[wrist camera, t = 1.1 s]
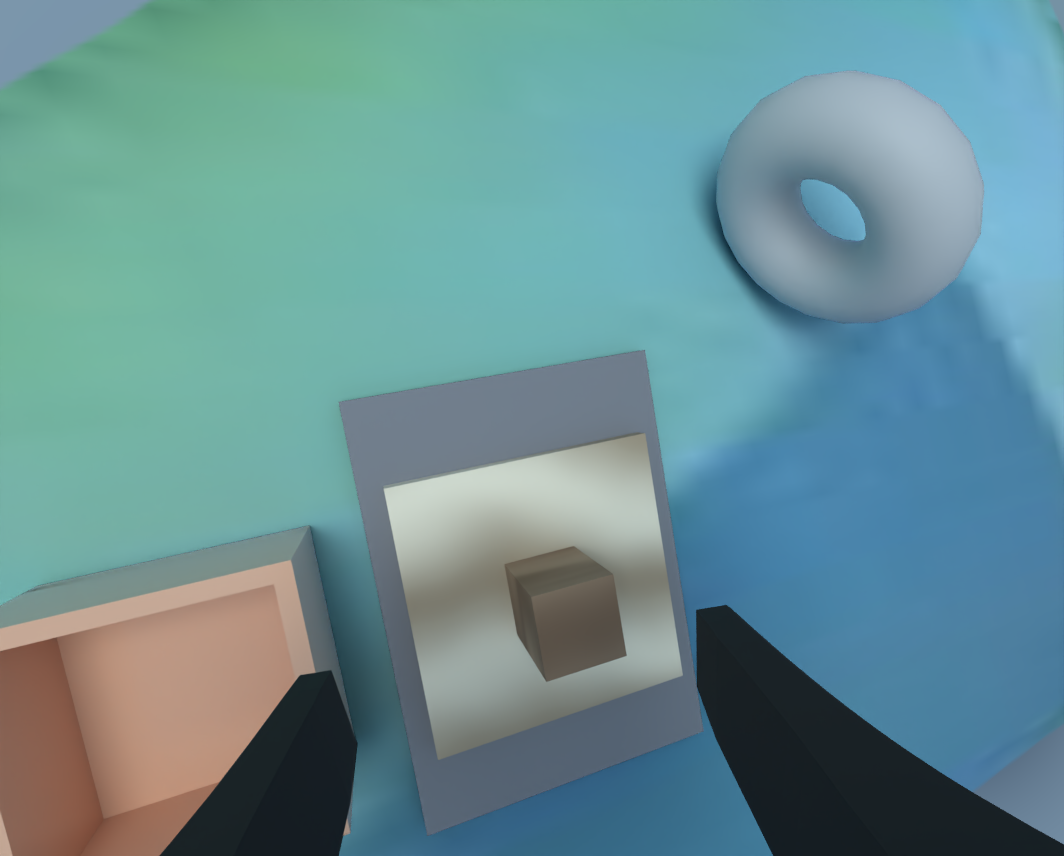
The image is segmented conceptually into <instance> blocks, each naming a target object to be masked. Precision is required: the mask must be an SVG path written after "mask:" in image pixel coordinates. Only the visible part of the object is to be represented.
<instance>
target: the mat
mask: <svg viewBox="0 0 1064 856" xmlns="http://www.w3.org/2000/svg"><path fill="white" fill-rule="evenodd" d="M339 406H340V411H341V416H342V421H343V426H344V430H345V435H346V440H347V445H348V450H349V455H350V460H351V465H352V470H353V474H354V479H355V484H356V489H357V494H358V499H359V504H360V509H361V513H362V518H363V523H364V528H365V533H366V538H367V543H368V548H369V553H370V557H371V562H372V567H373V572H374V577H375V582H376V587H377V592H378V596H379V601H380V606H381V611H382V616H383V621H384V626H385V631H386V636H387V640H388V645H389V650H390V655H391V660H392V665H393V670H394V675H395V679H396V684H397V689H398V694H399V699H400V704H401V709H402V714H403V719H404V723H405V728H406V733H407V738H408V743H409V748H410V753H411V758H412V762H413V767H414V772H415V777H416V782H417V787H418V792H419V797H420V801H421V806H422V811H423V816H424V821H425V826H426V831H427V836H429V835H432V834H434V833H437V832H440V831H442V830H445V829H447V828H450V827H453V826H455V825H458V824H461V823H463V822H466V821H469V820H471V819H474V818H476V817H479V816H482V815H484V814H487V813H490V812H492V811H495V810H498V809H500V808H503V807H505V806H508V805H511V804H513V803H516V802H519V801H521V800H524V799H526V798H529V797H532V796H534V795H537V794H540V793H542V792H545V791H548V790H550V789H553V788H555V787H558V786H561V785H563V784H566V783H569V782H571V781H574V780H577V779H579V778H582V777H584V776H587V775H590V774H592V773H595V772H598V771H600V770H603V769H606V768H608V767H611V766H613V765H616V764H619V763H621V762H624V761H627V760H629V759H632V758H634V757H637V756H640V755H642V754H645V753H648V752H650V751H653V750H656V749H658V748H661V747H663V746H666V745H669V744H671V743H674V742H677V741H679V740H682V739H685V738H687V737H690V736H692V735H695V734H698V733H700V732H703V725H702V718H701V712H700V705H699V699H698V692H697V686H696V679H695V673H694V666H693V660H692V653H691V647H690V640H689V634H688V627H687V621H686V614H685V608H684V601H683V595H682V588H681V582H680V575H679V569H678V562H677V556H676V549H675V543H674V536H673V530H672V523H671V517H670V510H669V504H668V497H667V491H666V484H665V478H664V471H663V465H662V458H661V452H660V445H659V439H658V432H657V426H656V419H655V413H654V406H653V400H652V393H651V387H650V380H649V374H648V367H647V361H646V354H645V350H642V351H636V352H630V353H624V354H618V355H612V356H607V357H601V358H595V359H589V360H583V361H577V362H571V363H565V364H560V365H554V366H548V367H542V368H536V369H530V370H524V371H518V372H513V373H507V374H501V375H495V376H489V377H483V378H477V379H471V380H466V381H460V382H454V383H448V384H442V385H436V386H430V387H424V388H419V389H413V390H407V391H401V392H395V393H389V394H383V395H377V396H372V397H366V398H360V399H354V400H348V401H342V402H339ZM635 432H639V433H645V435H646V442H647V448H648V455H649V461H650V467H651V474H652V480H653V487H654V493H655V500H656V506H657V512H658V519H659V525H660V532H661V538H662V544H663V551H664V557H665V564H666V570H667V576H668V583H669V589H670V596H671V602H672V609H673V615H674V621H675V628H676V634H677V641H678V647H679V653H680V660H681V666H682V673H683V676H680V677H677V678H674V679H671V680H668V681H665V682H663V683H660V684H657V685H654V686H651V687H648V688H645V689H642V690H639V691H637V692H634V693H631V694H628V695H625V696H622V697H619V698H616V699H613V700H611V701H608V702H605V703H602V704H599V705H596V706H593V707H590V708H587V709H585V710H582V711H579V712H576V713H573V714H570V715H567V716H564V717H561V718H558V719H556V720H553V721H550V722H547V723H544V724H541V725H538V726H535V727H532V728H530V729H527V730H524V731H521V732H518V733H515V734H512V735H509V736H506V737H504V738H501V739H498V740H495V741H492V742H489V743H486V744H483V745H480V746H478V747H475V748H472V749H469V750H466V751H463V752H460V753H457V754H454V755H452V756H449V757H446V758H443V759H440V760H438V758H437V753H436V748H435V743H434V738H433V733H432V728H431V723H430V718H429V713H428V708H427V703H426V698H425V693H424V688H423V683H422V678H421V673H420V668H419V663H418V658H417V653H416V648H415V643H414V638H413V633H412V628H411V623H410V618H409V613H408V608H407V603H406V598H405V593H404V588H403V583H402V578H401V573H400V568H399V563H398V558H397V553H396V548H395V543H394V538H393V533H392V528H391V523H390V518H389V513H388V508H387V503H386V498H385V493H384V487H383V486H386V485H390V484H395V483H400V482H404V481H409V480H414V479H419V478H423V477H428V476H433V475H437V474H442V473H447V472H452V471H456V470H461V469H466V468H470V467H475V466H480V465H485V464H489V463H494V462H499V461H503V460H508V459H513V458H518V457H522V456H527V455H532V454H536V453H541V452H546V451H551V450H555V449H560V448H565V447H569V446H574V445H579V444H584V443H588V442H593V441H598V440H602V439H607V438H612V437H617V436H621V435H626V434H631V433H635Z"/></svg>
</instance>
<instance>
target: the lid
mask: <svg viewBox="0 0 1064 856" xmlns="http://www.w3.org/2000/svg"><path fill="white" fill-rule="evenodd" d="M383 487H384V493H385V498H386V503H387V508H388V513H389V518H390V523H391V528H392V533H393V538H394V543H395V548H396V553H397V558H398V563H399V568H400V573H401V578H402V583H403V588H404V593H405V598H406V603H407V608H408V613H409V618H410V623H411V628H412V633H413V638H414V643H415V648H416V653H417V658H418V663H419V668H420V673H421V678H422V683H423V688H424V693H425V698H426V703H427V708H428V713H429V718H430V723H431V728H432V733H433V738H434V743H435V748H436V753H437V758H438V760H440V759H443V758H446V757H449V756H452V755H454V754H457V753H460V752H463V751H466V750H469V749H472V748H475V747H478V746H480V745H483V744H486V743H489V742H492V741H495V740H498V739H501V738H504V737H506V736H509V735H512V734H515V733H518V732H521V731H524V730H527V729H530V728H532V727H535V726H538V725H541V724H544V723H547V722H550V721H553V720H556V719H558V718H561V717H564V716H567V715H570V714H573V713H576V712H579V711H582V710H585V709H587V708H590V707H593V706H596V705H599V704H602V703H605V702H608V701H611V700H613V699H616V698H619V697H622V696H625V695H628V694H631V693H634V692H637V691H639V690H642V689H645V688H648V687H651V686H654V685H657V684H660V683H663V682H665V681H668V680H671V679H674V678H677V677H680V676H683V673H682V666H681V660H680V653H679V647H678V641H677V634H676V628H675V621H674V615H673V609H672V602H671V596H670V589H669V583H668V576H667V570H666V564H665V557H664V551H663V544H662V538H661V532H660V525H659V519H658V512H657V506H656V500H655V493H654V487H653V480H652V474H651V467H650V461H649V455H648V448H647V442H646V435H645V433H639V432H635V433H631V434H626V435H621V436H617V437H612V438H607V439H602V440H598V441H593V442H588V443H584V444H579V445H574V446H569V447H565V448H560V449H555V450H551V451H546V452H541V453H536V454H532V455H527V456H522V457H518V458H513V459H508V460H503V461H499V462H494V463H489V464H485V465H480V466H475V467H470V468H466V469H461V470H456V471H452V472H447V473H442V474H437V475H433V476H428V477H423V478H419V479H414V480H409V481H404V482H400V483H395V484H390V485H386V486H383Z"/></svg>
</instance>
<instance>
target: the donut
mask: <svg viewBox="0 0 1064 856" xmlns="http://www.w3.org/2000/svg"><path fill="white" fill-rule="evenodd" d="M805 179H815V180H820V181H822V182H825V183H828V184H831V185H833V186H835V187H836V188H838V189H839V190H841V191H842V192H844V193H845V194H846V195H848V196H849V198H850V199H851V200H852V201H853V203H854V204H855V205H856V206H857V207H858V209H859V211H860V213H861V216H862V218H863V220H864V223H865V230H866V236H865V239H864V240H861V241H852V240H843V239H841V238H838V237H835V236H833V235H831V234H829V233H828V232H827V231H825V230H824V229H822V228H821V227H820V226H818V225H817V224H816V222H815V221H814V220H813V219H812V218H811V216H810V215H809V214H808V213H807V211H806V209H805V207H804V204H803V202H802V197H801V190H800V186H801V182H802V180H805ZM983 197H984V183H983V180H982V177H981V174H980V171H979V168H978V165H977V162H976V159H975V155H974V152H973V149H972V146H971V143H970V141H969V140H968V139H967V137H966V136H965V135H964V134H963V132H962V131H961V130H960V129H959V127H958V126H957V125H956V124H955V122H954V121H953V120H952V119H951V117H950V116H949V115H948V114H947V113H946V111H945V110H944V109H943V108H942V106H941V105H939V104H938V103H936V102H934V101H933V100H931V99H930V98H928V97H926V96H925V95H923V94H921V93H920V92H918V91H917V90H915V89H913V88H912V87H910V86H908V85H907V84H905V83H904V82H902V81H900V80H896V79H891V78H887V77H882V76H877V75H873V74H868V73H864V72H859V71H843V72H835V73H827V74H819V75H811V76H805V77H803V78H801V79H799V80H797V81H795V82H793V83H791V84H789V85H787V86H786V87H784V88H782V89H780V90H778V91H776V92H774V93H772V94H770V95H768V96H767V97H765V98H763V99H761V100H760V101H759V103H758V104H757V105H756V106H755V107H754V108H753V109H752V111H751V112H750V113H749V114H748V115H747V116H746V117H745V119H744V120H743V121H742V122H741V123H740V124H739V125H738V127H737V128H736V129H735V130H734V131H733V133H732V134H731V136H730V139H729V141H728V144H727V147H726V149H725V152H724V155H723V157H722V160H721V163H720V165H719V169H718V172H717V193H716V204H717V209H718V213H719V217H720V221H721V225H722V229H723V233H724V237H725V238H726V240H727V242H728V244H729V246H730V248H731V250H732V252H733V254H734V255H735V257H736V259H737V261H738V262H739V264H740V265H741V266H742V267H743V268H744V269H745V271H746V272H747V273H748V274H749V275H750V277H751V278H752V279H753V280H754V281H755V282H756V284H758V285H759V286H760V287H761V288H763V289H764V290H765V291H767V292H768V293H769V294H770V295H772V296H773V297H774V298H776V299H777V300H778V301H779V302H781V303H783V304H785V305H787V306H789V307H791V308H793V309H795V310H797V311H800V312H802V313H804V314H806V315H809V316H813V317H817V318H821V319H826V320H830V321H834V322H839V323H875V322H880V321H883V320H887V319H890V318H893V317H896V316H898V315H901V314H904V313H907V312H910V311H913V310H916V309H918V308H920V307H921V306H923V305H924V304H925V303H927V302H928V301H929V300H931V299H932V298H933V297H934V296H935V295H937V294H938V293H939V292H940V291H942V290H943V289H944V288H945V287H946V286H948V285H949V284H950V283H951V282H952V281H954V280H955V279H956V278H957V276H958V275H959V273H960V271H961V270H962V268H963V266H964V264H965V262H966V261H967V259H968V257H969V255H970V253H971V251H972V249H973V247H974V245H975V243H976V242H977V240H978V238H979V236H980V234H981V223H982V210H983Z"/></svg>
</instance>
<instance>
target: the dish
mask: <svg viewBox="0 0 1064 856" xmlns="http://www.w3.org/2000/svg"><path fill="white" fill-rule="evenodd" d="M328 670H332V673H333V676H334V679H335V682H336V684H337V687H338V690H339V693H340V696H341V699H342V701H343V704H344V707H345V710H346V713H347V716H348V718H349V721H350V724H351V727H352V730H353V726H352V721H351V717H350V712H349V707H348V703H347V698H346V693H345V689H344V684H343V679H342V675H341V670H340V665H339V661H338V656H337V651H336V646H335V642H334V637H333V632H332V628H331V623H330V618H329V614H328V609H327V604H326V600H325V595H324V590H323V586H322V581H321V576H320V572H319V567H318V562H317V558H316V553H315V548H314V544H313V539H312V534H311V530H310V526H305V527H301V528H296V529H292V530H287V531H283V532H278V533H274V534H269V535H265V536H260V537H256V538H251V539H247V540H242V541H238V542H233V543H229V544H224V545H220V546H215V547H211V548H206V549H202V550H197V551H193V552H188V553H184V554H179V555H175V556H170V557H166V558H161V559H157V560H152V561H148V562H143V563H139V564H134V565H130V566H125V567H121V568H116V569H112V570H107V571H103V572H98V573H94V574H89V575H85V576H80V577H76V578H71V579H67V580H62V581H58V582H53V583H49V584H44V585H40V586H36V587H34V588H32V589H31V590H29V591H27V592H25V593H23V594H21V595H19V596H18V597H16V598H14V599H12V600H10V601H8V602H6V603H4V604H3V605H1V606H0V856H159V855H160V854H161V853H162V852H163V851H164V850H165V848H166V847H167V846H168V845H169V844H170V842H171V841H172V840H173V839H174V838H175V836H176V835H177V834H178V833H179V832H180V830H181V829H182V828H183V827H184V825H185V824H186V823H187V822H188V821H189V819H190V818H191V817H192V816H193V814H194V813H195V812H196V811H197V810H198V808H199V807H200V806H201V805H202V804H203V802H204V801H205V800H206V799H207V797H208V796H209V795H210V794H211V792H212V791H213V790H214V789H215V787H216V786H217V785H218V783H219V782H220V781H221V780H222V778H223V777H224V776H225V774H226V773H227V772H228V770H229V769H230V768H231V766H232V765H233V764H234V763H235V761H236V760H237V759H238V757H239V756H240V755H241V753H242V752H243V751H244V749H245V748H246V747H247V746H248V744H249V743H250V741H251V740H252V739H253V737H254V736H255V735H256V733H257V732H258V731H259V729H260V728H261V727H262V725H263V724H264V723H265V721H266V720H267V718H268V717H269V716H270V714H271V713H272V712H273V710H274V709H275V708H276V706H277V705H278V703H279V702H280V701H281V699H282V698H283V697H284V695H285V694H286V693H287V691H288V690H289V689H290V687H291V686H292V685H293V683H294V682H295V681H296V679H297V678H298V677H299V676H300V675H304V674H310V673H316V672H322V671H328ZM353 733H354V731H353ZM353 781H354V780H353ZM352 799H353V787H352V795H351V802H350V807H349V812H348V816H347V821H346V825H345V829H344V834H343V836H344V835H347V834H349V833H351V816H352Z"/></svg>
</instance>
